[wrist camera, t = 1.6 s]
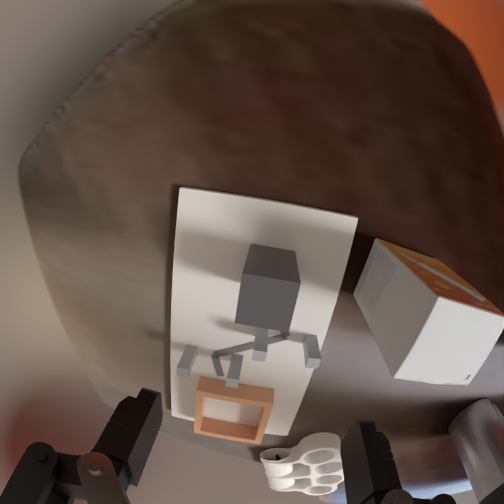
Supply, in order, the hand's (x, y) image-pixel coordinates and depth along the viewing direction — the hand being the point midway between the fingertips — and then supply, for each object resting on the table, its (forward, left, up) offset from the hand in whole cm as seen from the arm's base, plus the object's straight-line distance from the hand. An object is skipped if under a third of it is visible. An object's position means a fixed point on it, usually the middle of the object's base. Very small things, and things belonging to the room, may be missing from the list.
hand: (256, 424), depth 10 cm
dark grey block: (0, 0, -18) cm, 18 cm away
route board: (+1, +9, -19) cm, 21 cm away
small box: (-13, -1, -19) cm, 23 cm away
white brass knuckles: (-13, +33, -19) cm, 40 cm away
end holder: (+1, +19, -19) cm, 27 cm away
